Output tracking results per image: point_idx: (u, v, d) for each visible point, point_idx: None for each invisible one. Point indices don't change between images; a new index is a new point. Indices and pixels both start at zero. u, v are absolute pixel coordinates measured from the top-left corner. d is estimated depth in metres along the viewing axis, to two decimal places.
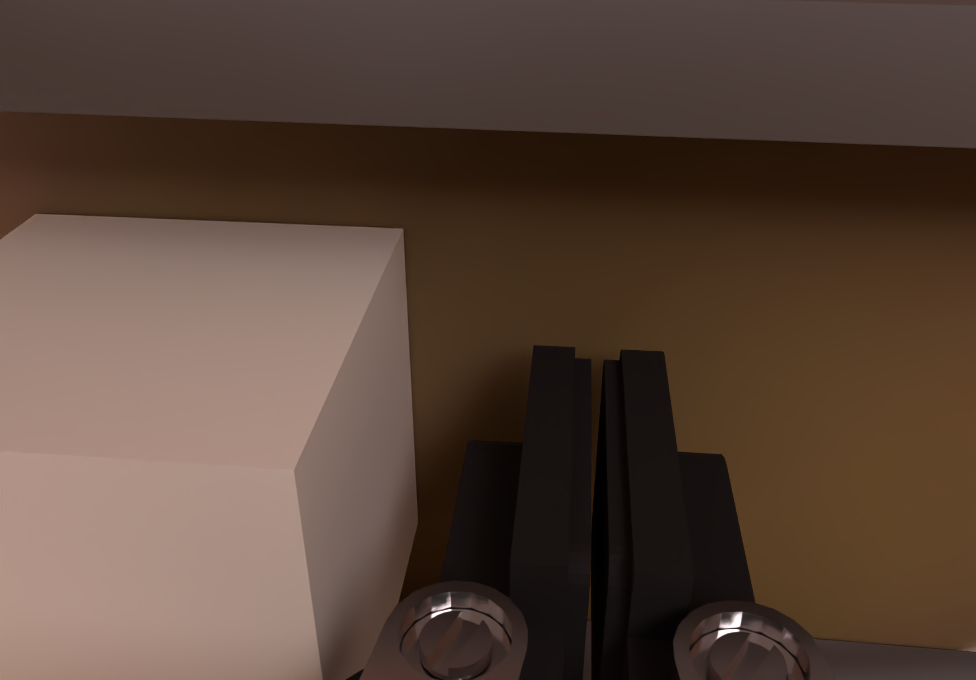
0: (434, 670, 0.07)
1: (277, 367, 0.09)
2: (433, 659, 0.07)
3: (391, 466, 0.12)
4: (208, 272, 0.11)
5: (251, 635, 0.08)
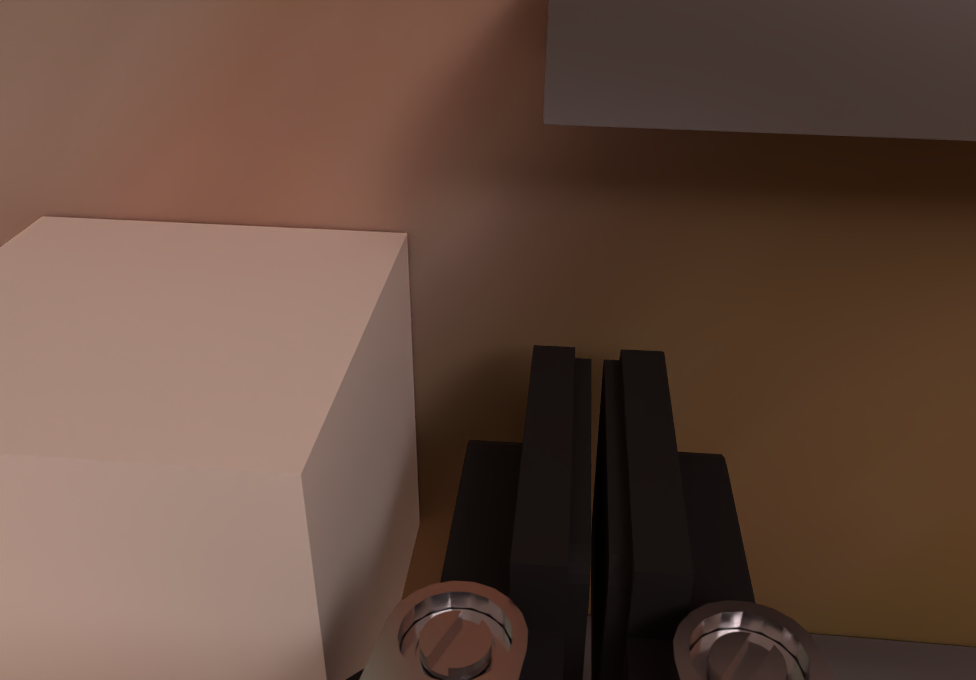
0: (434, 670, 0.07)
1: (284, 372, 0.09)
2: (433, 659, 0.07)
3: (394, 469, 0.12)
4: (214, 276, 0.11)
5: (257, 637, 0.09)
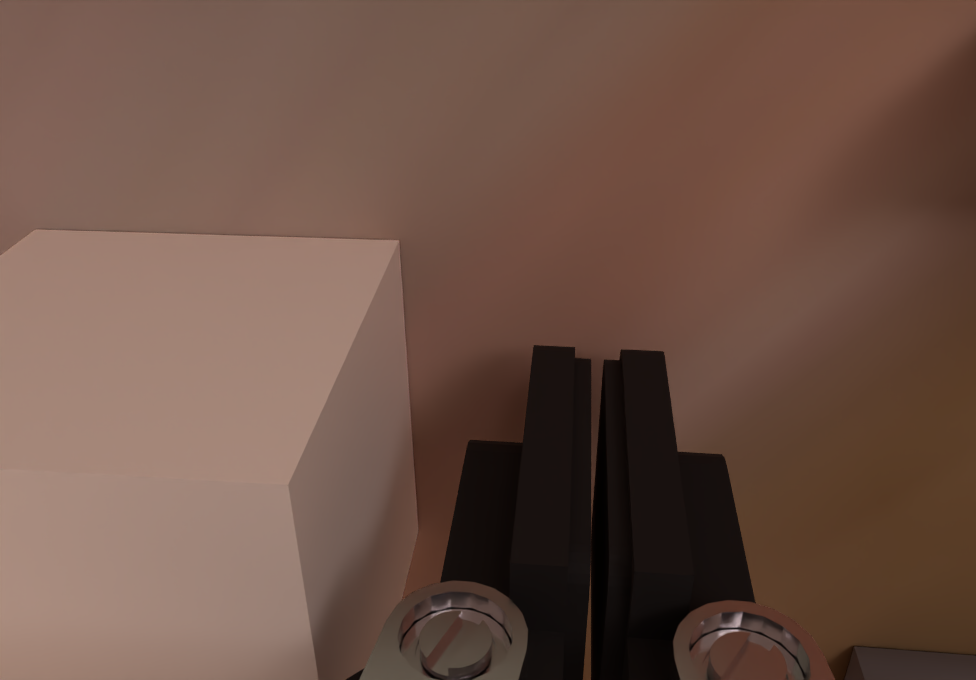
0: (434, 670, 0.07)
1: (272, 382, 0.09)
2: (433, 659, 0.07)
3: (389, 477, 0.12)
4: (205, 286, 0.11)
5: (249, 648, 0.09)
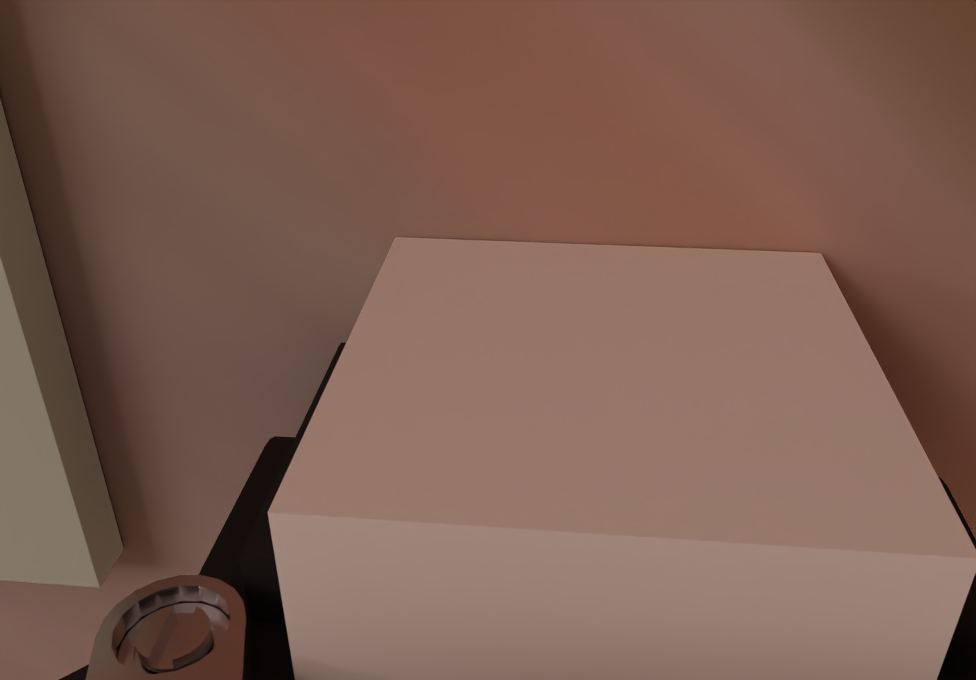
0: (157, 667, 0.07)
1: None
2: (154, 658, 0.07)
3: (620, 307, 0.09)
4: None
5: (541, 594, 0.07)
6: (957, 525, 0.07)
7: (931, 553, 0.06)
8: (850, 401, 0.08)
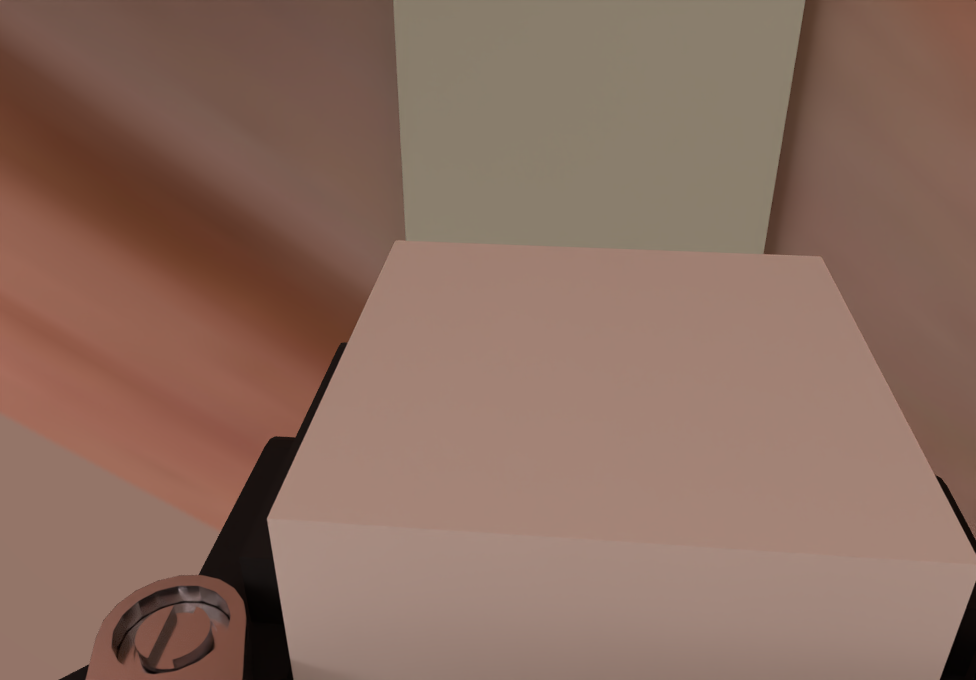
0: (158, 667, 0.07)
1: None
2: (154, 658, 0.07)
3: (620, 311, 0.09)
4: None
5: (541, 600, 0.07)
6: (958, 531, 0.06)
7: (932, 560, 0.06)
8: (850, 406, 0.08)
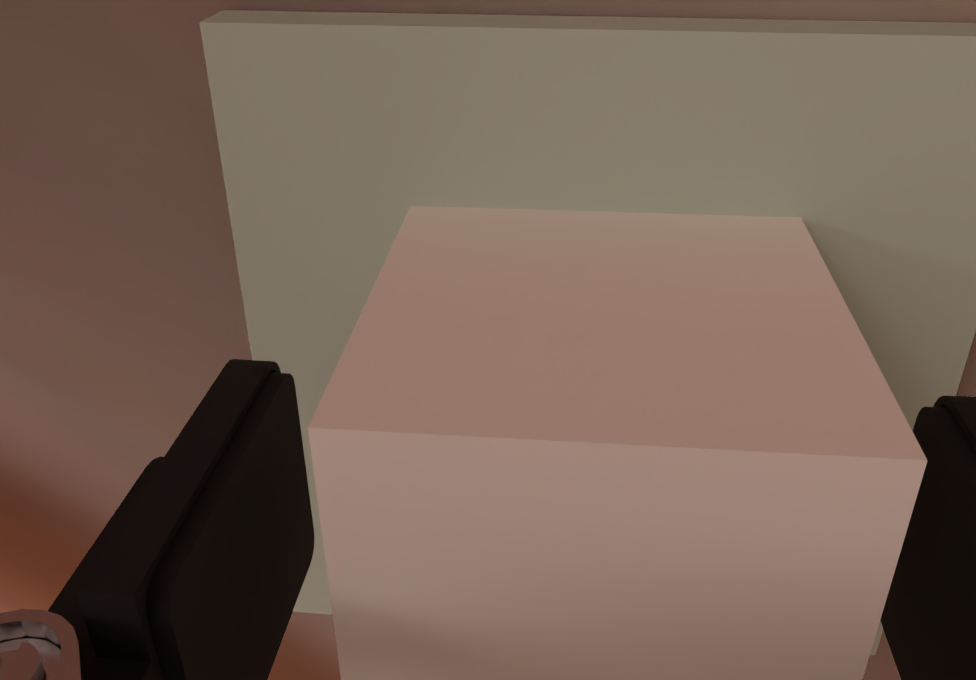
0: None
1: None
2: None
3: (617, 263, 0.10)
4: None
5: (546, 500, 0.08)
6: (909, 435, 0.07)
7: (885, 457, 0.07)
8: (821, 338, 0.09)
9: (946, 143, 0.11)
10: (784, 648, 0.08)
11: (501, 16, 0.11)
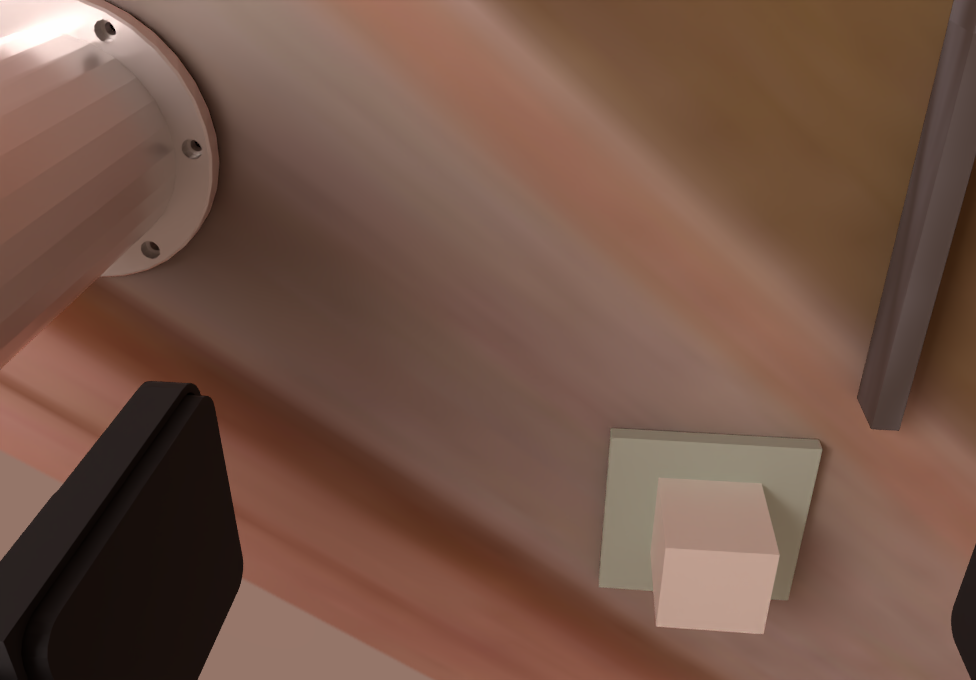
0: None
1: (662, 534, 0.42)
2: None
3: (716, 501, 0.43)
4: (656, 529, 0.45)
5: (709, 561, 0.41)
6: (777, 549, 0.40)
7: (772, 554, 0.40)
8: (763, 525, 0.42)
9: (797, 468, 0.44)
10: (755, 590, 0.41)
11: (685, 433, 0.44)
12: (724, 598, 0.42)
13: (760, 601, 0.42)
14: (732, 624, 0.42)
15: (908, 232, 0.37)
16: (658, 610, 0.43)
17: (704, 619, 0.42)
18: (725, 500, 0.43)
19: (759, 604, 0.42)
